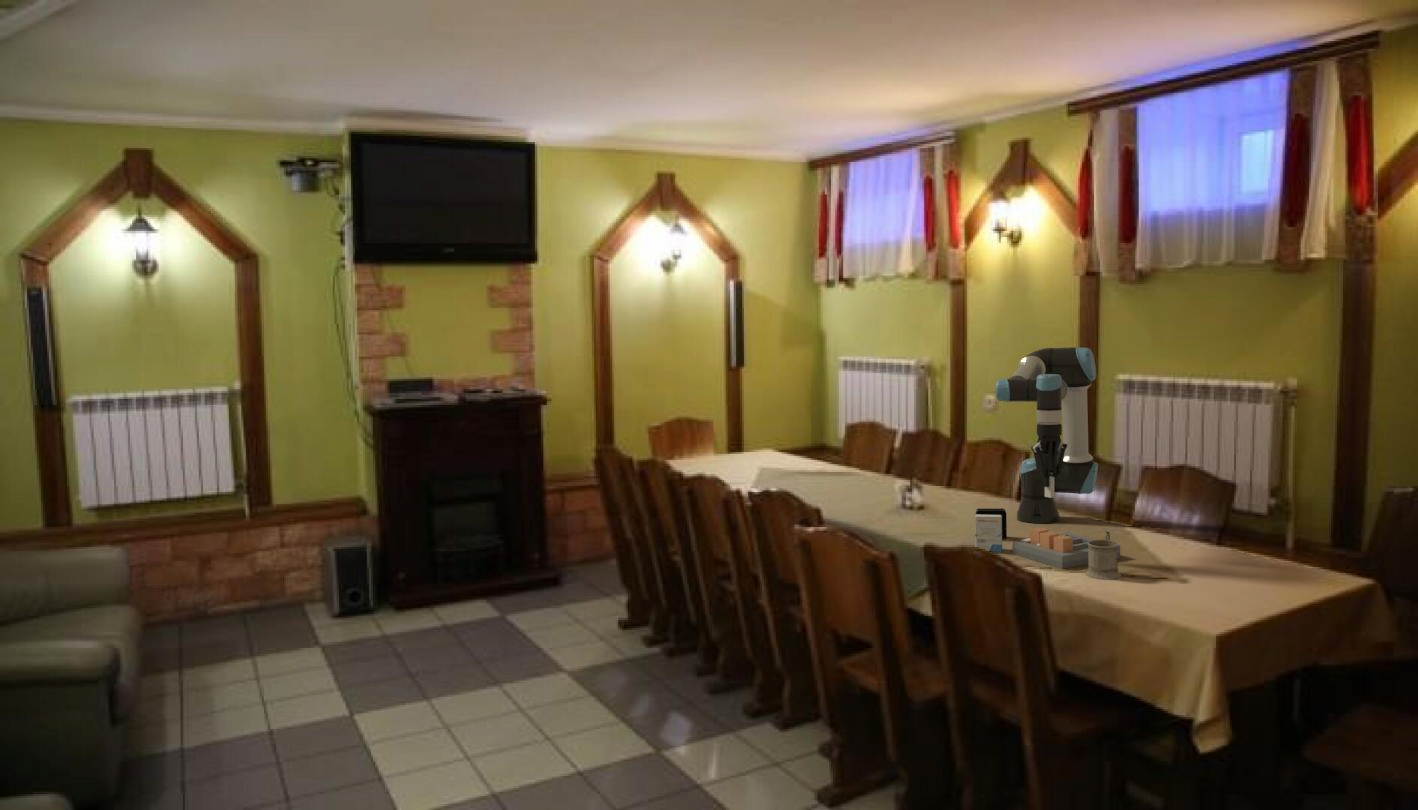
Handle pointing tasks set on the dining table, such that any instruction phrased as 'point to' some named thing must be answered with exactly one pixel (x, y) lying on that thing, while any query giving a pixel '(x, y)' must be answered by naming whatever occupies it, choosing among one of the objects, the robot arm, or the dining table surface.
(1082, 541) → the grey divided tray
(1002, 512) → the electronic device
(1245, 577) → the dining table surface
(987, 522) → the ink box
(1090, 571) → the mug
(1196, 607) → the dining table surface
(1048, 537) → the tab
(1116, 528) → the dining table surface
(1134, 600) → the dining table surface
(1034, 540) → the tab
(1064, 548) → the orange block
